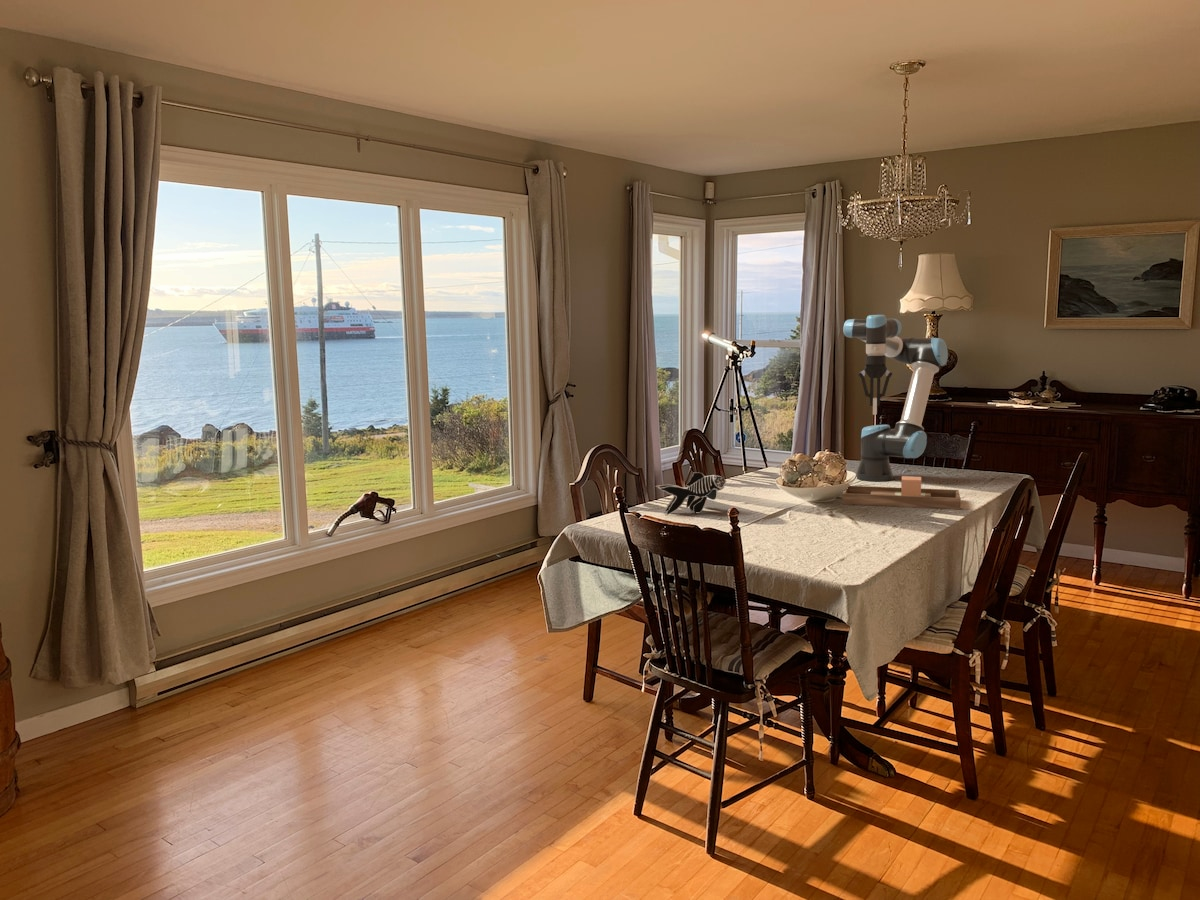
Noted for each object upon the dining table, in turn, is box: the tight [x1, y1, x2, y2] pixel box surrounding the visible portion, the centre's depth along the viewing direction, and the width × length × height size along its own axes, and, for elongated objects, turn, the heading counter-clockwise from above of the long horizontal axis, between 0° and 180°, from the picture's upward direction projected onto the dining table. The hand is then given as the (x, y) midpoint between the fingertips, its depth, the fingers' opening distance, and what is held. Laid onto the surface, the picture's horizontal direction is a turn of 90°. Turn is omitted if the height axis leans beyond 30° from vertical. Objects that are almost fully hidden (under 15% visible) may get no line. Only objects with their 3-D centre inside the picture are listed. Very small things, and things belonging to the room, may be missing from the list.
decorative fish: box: [655, 471, 727, 516], centre depth 335 cm, size 16×26×15 cm, turn 102°
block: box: [900, 475, 922, 496], centre depth 342 cm, size 7×7×7 cm
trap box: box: [841, 485, 962, 510], centre depth 344 cm, size 16×42×4 cm, turn 71°
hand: (874, 414), depth 357 cm, fingers closed
